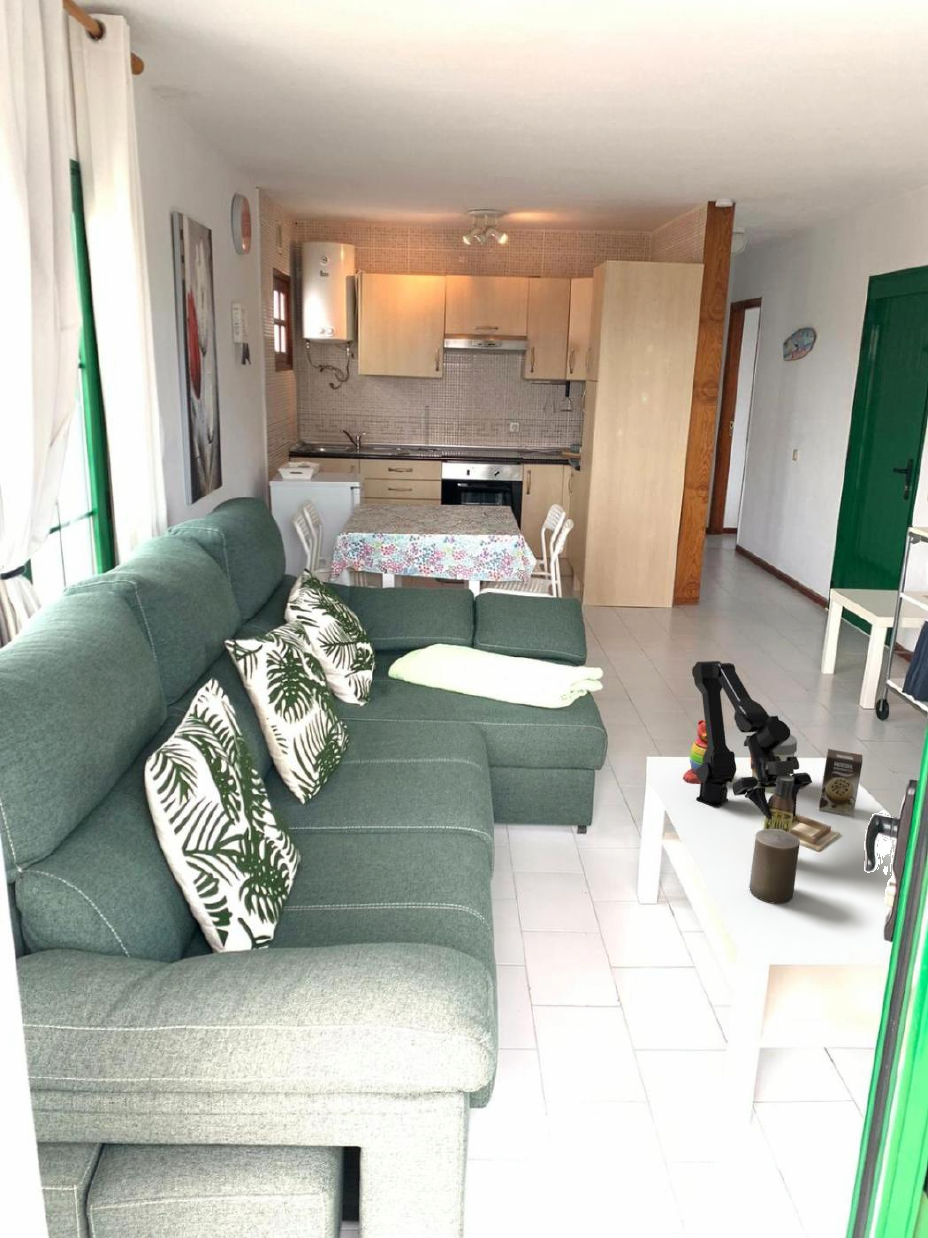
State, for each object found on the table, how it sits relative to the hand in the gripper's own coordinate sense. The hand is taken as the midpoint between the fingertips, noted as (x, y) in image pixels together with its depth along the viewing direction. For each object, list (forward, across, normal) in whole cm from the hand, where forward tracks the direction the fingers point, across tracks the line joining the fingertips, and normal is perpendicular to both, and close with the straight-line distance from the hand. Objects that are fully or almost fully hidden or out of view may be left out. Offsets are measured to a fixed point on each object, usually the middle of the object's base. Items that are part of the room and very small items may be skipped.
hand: (782, 818), depth 231 cm
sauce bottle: (+6, 0, +8) cm, 10 cm away
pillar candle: (+17, -9, -1) cm, 19 cm away
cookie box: (-7, +32, +24) cm, 41 cm away
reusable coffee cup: (-19, +21, +36) cm, 46 cm away
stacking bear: (-24, +5, +42) cm, 48 cm away
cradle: (0, +15, +16) cm, 22 cm away
